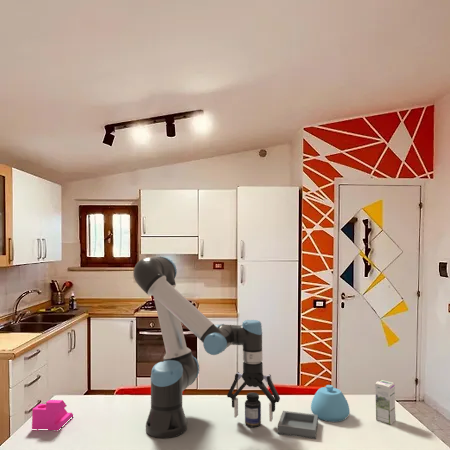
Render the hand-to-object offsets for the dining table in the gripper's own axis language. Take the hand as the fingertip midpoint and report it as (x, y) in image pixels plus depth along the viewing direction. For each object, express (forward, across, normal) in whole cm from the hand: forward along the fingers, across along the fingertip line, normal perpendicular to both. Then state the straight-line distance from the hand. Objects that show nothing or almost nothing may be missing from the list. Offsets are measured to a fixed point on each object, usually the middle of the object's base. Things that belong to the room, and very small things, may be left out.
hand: (253, 418), depth 151 cm
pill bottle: (+2, 0, 0) cm, 3 cm away
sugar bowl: (+3, +28, +17) cm, 33 cm away
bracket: (+2, -74, -21) cm, 77 cm away
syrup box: (+3, +49, +18) cm, 52 cm away
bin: (+2, +17, +2) cm, 17 cm away
